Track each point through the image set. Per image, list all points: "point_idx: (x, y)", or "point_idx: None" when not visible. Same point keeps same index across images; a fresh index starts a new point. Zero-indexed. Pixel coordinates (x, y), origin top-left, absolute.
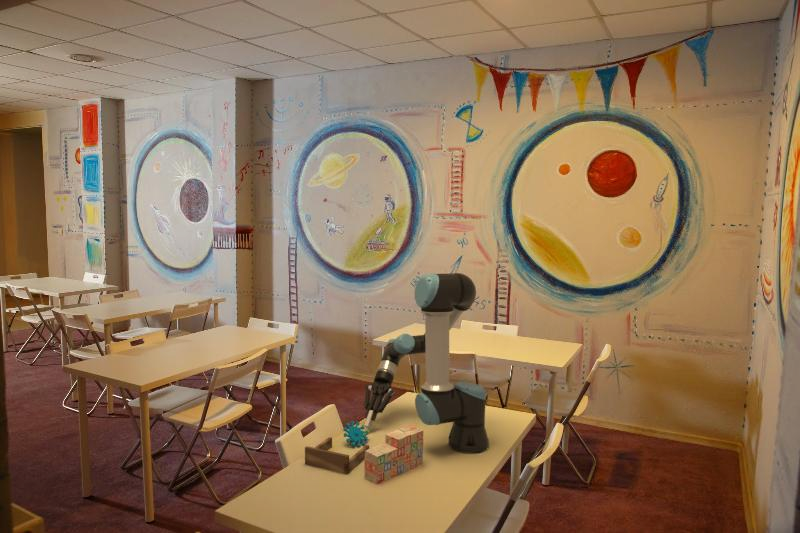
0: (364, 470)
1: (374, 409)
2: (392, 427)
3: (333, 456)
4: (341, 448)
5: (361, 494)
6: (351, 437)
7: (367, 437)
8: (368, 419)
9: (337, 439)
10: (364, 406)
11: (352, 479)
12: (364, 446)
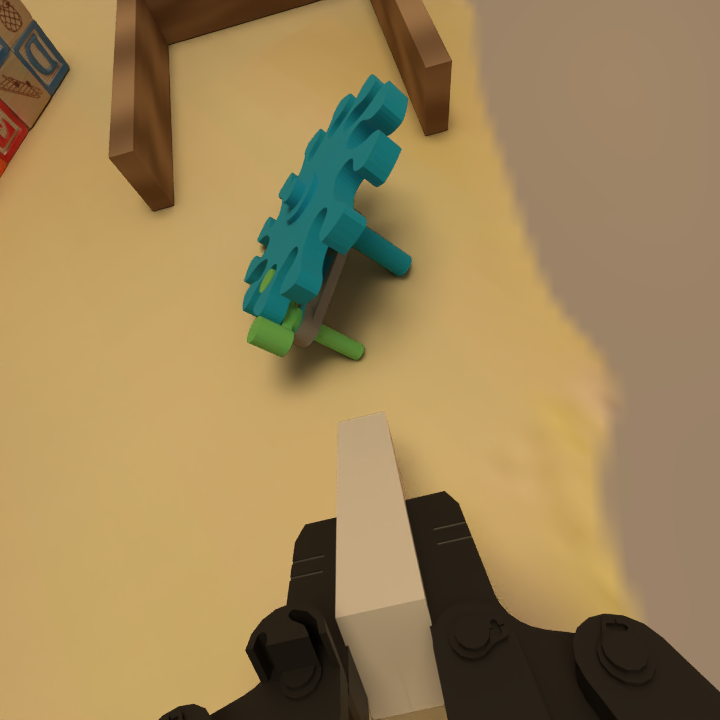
0: (41, 29)
1: (280, 624)
2: None
3: None
4: None
5: (33, 7)
6: (308, 161)
7: (244, 305)
8: (361, 468)
9: (497, 224)
10: (649, 637)
11: (111, 34)
12: (131, 128)
